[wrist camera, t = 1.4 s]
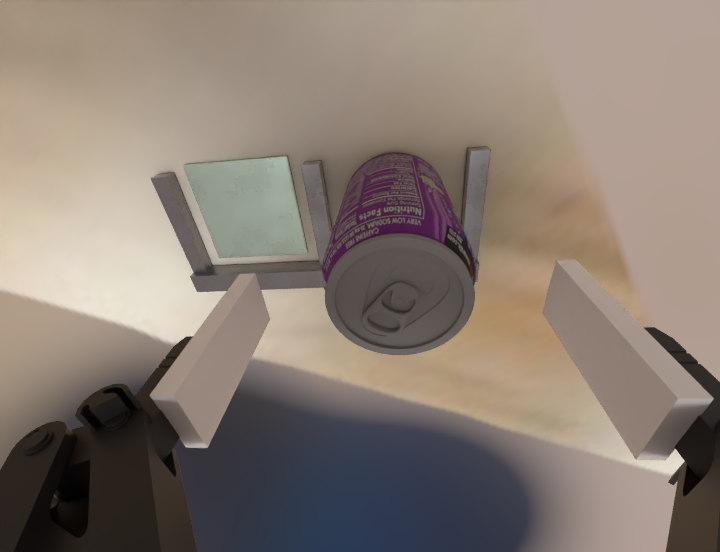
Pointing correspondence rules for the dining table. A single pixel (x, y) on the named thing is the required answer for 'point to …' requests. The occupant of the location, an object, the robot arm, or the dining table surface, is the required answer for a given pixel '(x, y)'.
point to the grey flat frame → (275, 217)
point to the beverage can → (398, 260)
